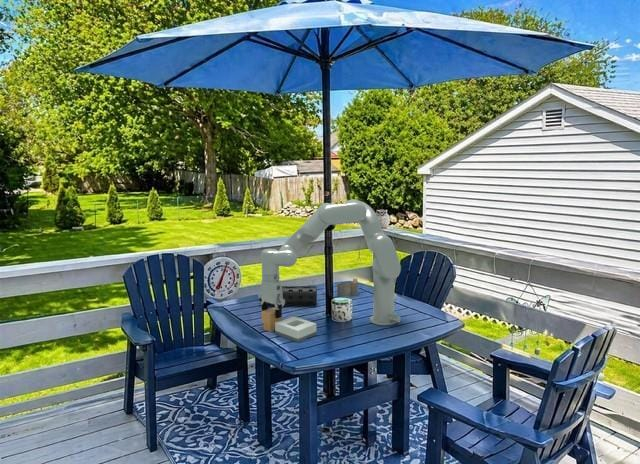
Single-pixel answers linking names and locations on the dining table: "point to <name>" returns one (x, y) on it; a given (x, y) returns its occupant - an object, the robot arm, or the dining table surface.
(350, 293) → the ruin model on sheet
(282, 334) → the socket block
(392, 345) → the dining table surface
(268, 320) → the plug
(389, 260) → the robot arm
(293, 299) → the muzzle brake
